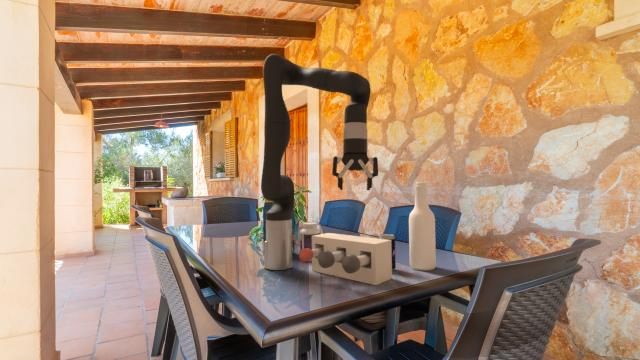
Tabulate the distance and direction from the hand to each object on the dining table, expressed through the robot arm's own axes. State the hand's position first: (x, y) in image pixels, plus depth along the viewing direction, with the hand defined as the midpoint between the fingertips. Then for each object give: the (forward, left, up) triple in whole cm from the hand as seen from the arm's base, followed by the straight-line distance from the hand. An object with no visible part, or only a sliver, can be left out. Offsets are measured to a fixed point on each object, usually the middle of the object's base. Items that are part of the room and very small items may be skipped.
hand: (354, 190), depth 108 cm
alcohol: (+21, +18, -28) cm, 39 cm away
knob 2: (+2, -7, -23) cm, 24 cm away
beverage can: (+9, +13, -28) cm, 32 cm away
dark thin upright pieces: (-37, +32, -28) cm, 56 cm away
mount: (-3, +5, -28) cm, 28 cm away
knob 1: (-7, -2, -23) cm, 24 cm away
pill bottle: (-21, +24, -28) cm, 42 cm away
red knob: (-15, +3, -23) cm, 27 cm away
